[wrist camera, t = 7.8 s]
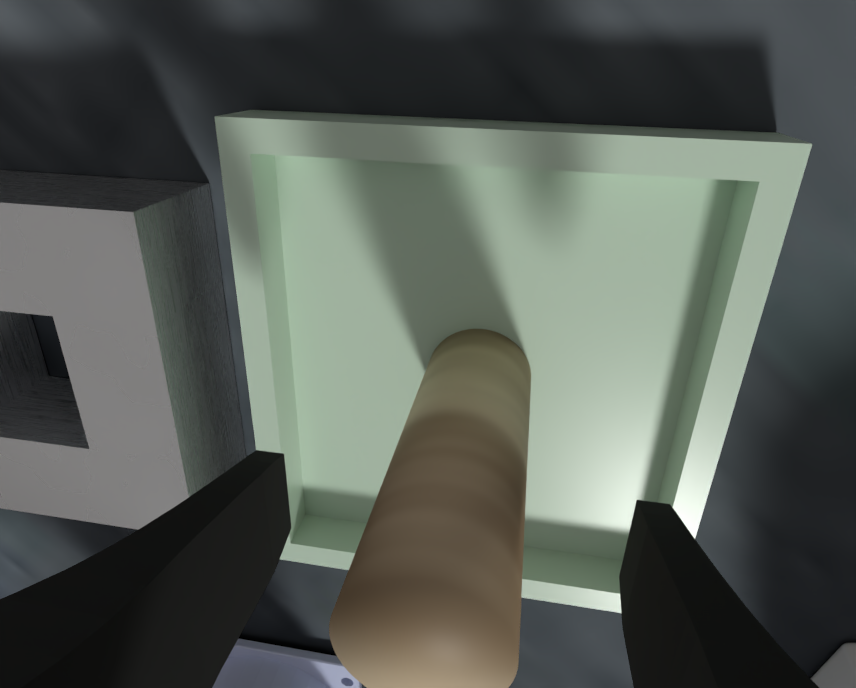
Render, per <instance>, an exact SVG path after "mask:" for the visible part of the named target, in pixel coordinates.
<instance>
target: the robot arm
mask: <svg viewBox="0 0 856 688" xmlns="http://www.w3.org/2000/svg"><path fill="white" fill-rule="evenodd" d="M290 530H291V518H290V508H289V498H288V488H287V478H286V468H285V458H284V454H283V453H275V452H267V451H260V450H256V451H255V452H253V453H252V454H250V455H249V456H247V457H246V458H244V459H243V460H241V461H240V462H239V463H237V464H236V465H234V466H233V467H231V468H230V469H229V470H227V471H226V472H224V473H223V474H222V475H220V476H219V477H217V478H216V479H215V480H213V481H212V482H210V483H209V484H207V485H206V486H204V487H203V488H202V489H200V490H199V491H197V492H196V493H194V494H193V495H191V496H190V497H188V498H187V499H186V500H184V501H183V502H181V503H180V504H178V505H177V506H175V507H174V508H172V509H171V510H169V511H167V512H166V513H164V514H163V515H161V516H159V517H158V518H156V519H155V520H153V521H151V522H150V523H148V524H147V525H145V526H143V527H142V528H140V529H139V530H137V531H135V532H134V533H132V534H131V535H129V536H127V537H126V538H124V539H122V540H120V541H119V542H117V543H115V544H113V545H112V546H110V547H108V548H106V549H104V550H103V551H101V552H99V553H97V554H95V555H93V556H91V557H89V558H87V559H86V560H84V561H82V562H80V563H78V564H76V565H74V566H72V567H70V568H68V569H66V570H64V571H62V572H60V573H57V574H55V575H53V576H51V577H49V578H47V579H44V580H42V581H40V582H38V583H36V584H34V585H31V586H29V587H27V588H25V589H23V590H20V591H18V592H16V593H14V594H12V595H9V596H7V597H5V598H2V599H0V688H362V685H361V683H360V682H359V681H358V680H357V679H356V678H354V677H353V676H352V675H351V674H350V673H349V672H348V671H347V669H346V668H345V667H344V666H343V665H342V663H341V662H340V660H339V659H338V657H337V656H334V655H328V654H323V653H317V652H312V651H306V650H301V649H295V648H289V647H284V646H278V645H273V644H267V643H262V642H256V641H250V640H245V639H239V636H240V635H241V633H242V631H243V629H244V627H245V625H246V624H247V622H248V620H249V618H250V616H251V614H252V613H253V611H254V609H255V607H256V605H257V603H258V602H259V600H260V598H261V596H262V594H263V592H264V590H265V589H266V587H267V585H268V583H269V581H270V579H271V577H272V575H273V573H274V571H275V569H276V567H277V564H278V562H279V559H280V557H281V554H282V552H283V549H284V546H285V544H286V541H287V538H288V536H289V533H290ZM619 583H620V599H621V613H622V625H623V632H624V638H625V643H626V649H627V654H628V659H629V664H630V670H631V675H632V680H633V685H634V688H819V687H818V686H817V685H816V684H815V683H814V682H813V681H812V680H811V679H810V678H809V677H808V676H807V674H806V673H805V672H804V671H803V670H802V669H801V668H800V667H799V666H798V665H797V664H796V663H795V662H794V661H793V660H792V659H791V658H790V657H789V656H788V655H787V654H786V653H785V651H784V650H783V649H782V648H781V647H780V646H779V645H778V644H777V643H776V641H775V640H774V639H773V638H772V637H771V636H770V634H769V633H768V632H767V631H766V630H765V629H764V627H763V626H762V625H761V624H760V623H759V622H758V620H757V619H756V618H755V617H754V616H753V614H752V613H751V612H750V611H749V610H748V608H747V607H746V606H745V605H744V603H743V602H742V601H741V600H740V598H739V597H738V596H737V595H736V593H735V592H734V591H733V589H732V588H731V587H730V586H729V584H728V583H727V582H726V580H725V579H724V578H723V577H722V575H721V574H720V573H719V571H718V570H717V569H716V567H715V566H714V565H713V563H712V562H711V561H710V559H709V558H708V557H707V555H706V554H705V552H704V551H703V550H702V548H701V547H700V546H699V544H698V543H697V541H696V540H695V538H694V537H693V536H692V534H691V533H690V531H689V530H688V529H687V527H686V526H685V524H684V523H683V521H682V520H681V519H680V517H679V516H678V514H677V513H676V511H675V510H674V509H673V508H672V506H671V505H670V504H666V503H658V502H650V501H643V500H637V501H636V505H635V510H634V514H633V518H632V523H631V527H630V531H629V536H628V540H627V544H626V549H625V553H624V557H623V562H622V566H621V570H620V575H619Z"/></svg>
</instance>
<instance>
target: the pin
mask: <svg viewBox="0 0 856 688" xmlns="http://www.w3.org/2000/svg"><path fill="white" fill-rule="evenodd" d="M530 393H531V369H530V365H529V362H528V360H527V357H526V356H525V354H524V352H523V351H522V350H521V349H520V347H519V346H518V345H517V344H516V343H515V342H513V341H512V340H511V339H509V338H508V337H506V336H504V335H502V334H500V333H498V332H495V331H491V330H486V329H467V330H462V331H459V332H456V333H454V334H452V335H450V336H449V337H447V338H446V339H444V340H443V341H442V342H441V343H440V344H439V345H438V346H437V347H436V349H435V350H434V352H433V354H432V356H431V358H430V361H429V363H428V366H427V369H426V371H425V374H424V376H423V379H422V382H421V384H420V387H419V389H418V392H417V395H416V397H415V400H414V402H413V405H412V408H411V410H410V413H409V415H408V418H407V420H406V423H405V426H404V428H403V431H402V433H401V436H400V439H399V441H398V444H397V446H396V449H395V452H394V454H393V457H392V459H391V462H390V465H389V467H388V470H387V472H386V475H385V478H384V480H383V483H382V485H381V488H380V490H379V493H378V496H377V498H376V501H375V503H374V506H373V509H372V511H371V514H370V516H369V519H368V522H367V524H366V527H365V529H364V532H363V535H362V537H361V540H360V542H359V545H358V547H357V550H356V553H355V555H354V558H353V560H352V563H351V566H350V568H349V571H348V573H347V576H346V579H345V581H344V584H343V586H342V589H341V592H340V594H339V597H338V599H337V602H336V605H335V607H334V610H333V612H332V615H331V619H330V624H329V634H330V640H331V643H332V646H333V649H334V651H335V653H336V655H337V657H338V659H339V660H340V662H341V663H342V665H343V666H344V667H345V668H346V669H347V671H348V672H349V673H350V674H351V675H352V676H353V677H354V678H356V679H357V680H358V681H359V682H360V683H362V684H363V685H364V686H366V687H367V688H508V687H509V686H510V685H511V683H512V682H513V680H514V678H515V676H516V673H517V669H518V660H519V638H520V616H521V593H522V571H523V549H524V527H525V504H526V482H527V460H528V438H529V415H530Z"/></svg>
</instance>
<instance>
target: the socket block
mask: <svg viewBox="0 0 856 688" xmlns="http://www.w3.org/2000/svg"><path fill="white" fill-rule="evenodd" d="M31 314H35V315H45V316H53V319H54V323H55V326H56V330H57V334H58V337H59V341H60V344H61V348H62V352H63V355H64V359H65V363H66V366H67V370H68V373H69V377H70V379H69V378H61V377H52V376H49V374H48V371H47V367H46V364H45V360H44V357H43V354H42V350H41V347H40V343H39V340H38V337H37V333H36V330H35V326H34V323H33V320H32V316H31ZM244 458H246V452H245V445H244V437H243V430H242V423H241V415H240V408H239V400H238V393H237V386H236V378H235V371H234V364H233V356H232V349H231V341H230V334H229V327H228V319H227V312H226V304H225V297H224V290H223V282H222V275H221V268H220V260H219V253H218V245H217V238H216V231H215V223H214V216H213V209H212V201H211V194H210V186H209V183H197V182H181V181H165V180H149V179H134V178H118V177H102V176H86V175H70V174H54V173H39V172H23V171H7V170H0V508H2V509H9V510H15V511H22V512H28V513H34V514H41V515H47V516H54V517H60V518H67V519H73V520H79V521H86V522H92V523H99V524H105V525H112V526H118V527H124V528H131V529H137V530H139V529H140V528H142V527H143V526H145V525H147V524H148V523H150V522H151V521H153V520H155V519H156V518H158V517H159V516H161V515H163V514H164V513H166V512H167V511H169V510H171V509H172V508H174V507H175V506H177V505H178V504H180V503H181V502H183V501H184V500H186V499H187V498H188V497H190V496H191V495H193V494H194V493H196V492H197V491H199V490H200V489H202V488H203V487H204V486H206V485H207V484H209V483H210V482H212V481H213V480H215V479H216V478H217V477H219V476H220V475H222V474H223V473H224V472H226V471H227V470H229V469H230V468H231V467H233V466H234V465H236V464H237V463H239V462H240V461H241V460H243V459H244Z"/></svg>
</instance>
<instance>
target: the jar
mask: <svg viewBox="0 0 856 688" xmlns="http://www.w3.org/2000/svg"><path fill="white" fill-rule="evenodd" d="M810 679H811V680H812V681H813V682H814V683H815V684H816V685H817V686H818V687H819V688H856V643H845V644H843V645H842V646H841V647H840V648H839V649H838V650H837V651H836V652H835V653H834V654H833V655H832V656H831V657H830V658H829V659H828V660H827V661H826V662H825V663H824V665H823V666H822V667H821V668H820V669H819V670H818V671H817V672H816V673H815V674H814V675H813V676H812V677H811V678H810Z"/></svg>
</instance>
